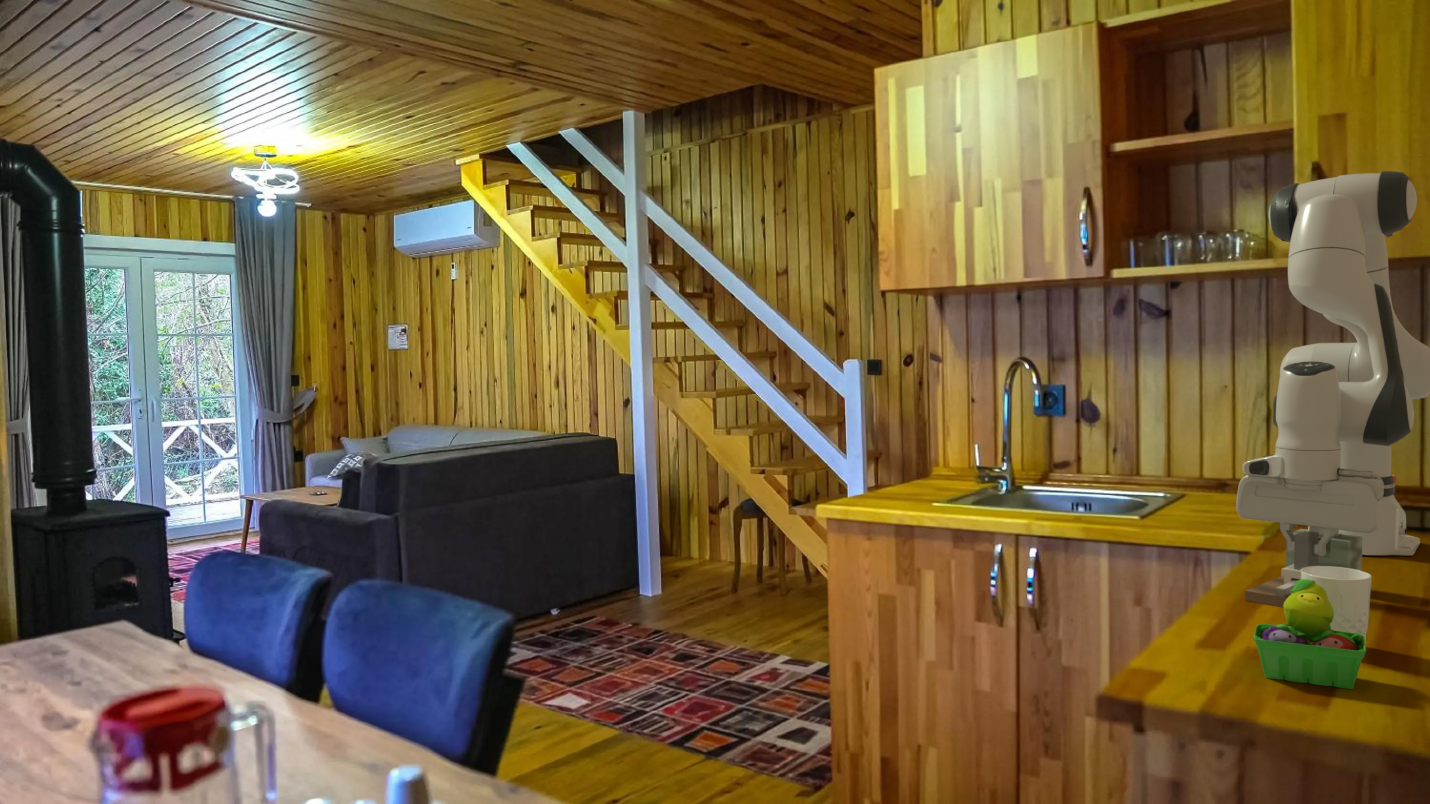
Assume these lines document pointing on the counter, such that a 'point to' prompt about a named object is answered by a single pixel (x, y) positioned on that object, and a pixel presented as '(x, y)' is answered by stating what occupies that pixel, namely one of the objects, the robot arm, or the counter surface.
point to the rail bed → (1266, 593)
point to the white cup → (1344, 595)
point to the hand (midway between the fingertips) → (1306, 553)
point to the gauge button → (1316, 529)
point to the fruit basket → (1309, 642)
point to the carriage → (1301, 556)
